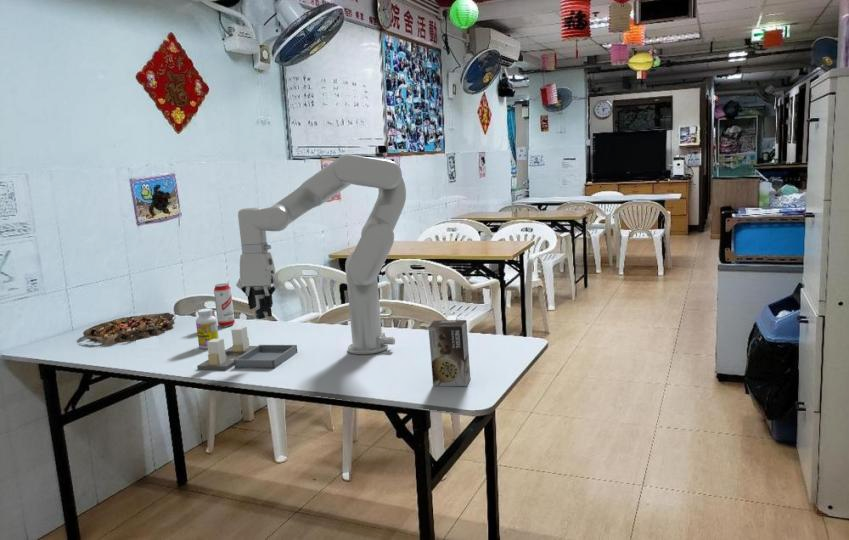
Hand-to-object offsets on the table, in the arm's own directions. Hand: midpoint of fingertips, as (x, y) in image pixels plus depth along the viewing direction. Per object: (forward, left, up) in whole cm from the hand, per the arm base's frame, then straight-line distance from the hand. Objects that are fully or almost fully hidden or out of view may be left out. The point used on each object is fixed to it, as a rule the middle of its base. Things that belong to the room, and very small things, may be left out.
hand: (260, 307), depth 199 cm
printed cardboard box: (-62, +17, -17) cm, 67 cm away
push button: (0, 0, -3) cm, 3 cm away
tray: (0, 0, -17) cm, 17 cm away
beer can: (+39, -42, -17) cm, 60 cm away
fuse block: (+13, -1, -17) cm, 21 cm away
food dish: (+74, -33, -17) cm, 83 cm away
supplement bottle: (+29, -14, -17) cm, 36 cm away
